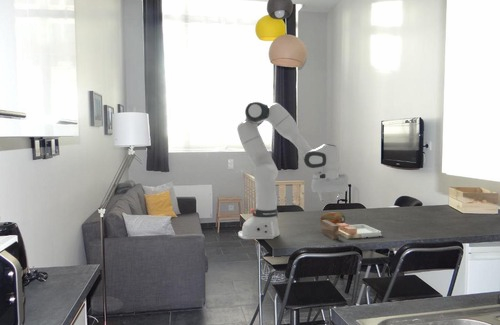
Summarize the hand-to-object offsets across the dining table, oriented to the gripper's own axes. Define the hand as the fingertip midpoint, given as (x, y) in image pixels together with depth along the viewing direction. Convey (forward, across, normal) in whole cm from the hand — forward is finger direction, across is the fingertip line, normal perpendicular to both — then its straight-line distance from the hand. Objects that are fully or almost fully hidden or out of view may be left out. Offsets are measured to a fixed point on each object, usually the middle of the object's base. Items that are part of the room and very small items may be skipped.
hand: (329, 200), depth 190 cm
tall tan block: (+19, 0, 0) cm, 19 cm away
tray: (+19, -20, 0) cm, 28 cm away
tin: (+19, -11, -18) cm, 29 cm away
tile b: (+17, -10, +4) cm, 20 cm away
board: (+19, -10, 0) cm, 21 cm away
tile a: (+17, -10, -4) cm, 20 cm away
